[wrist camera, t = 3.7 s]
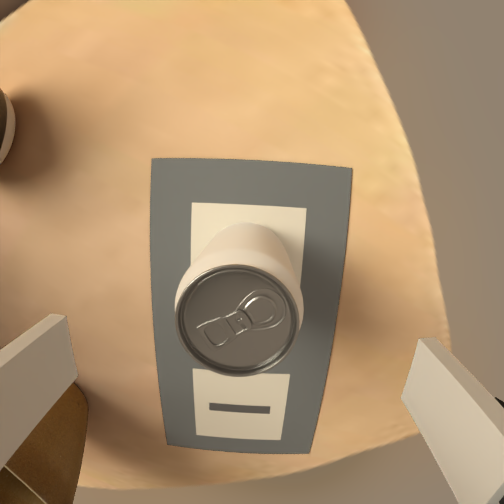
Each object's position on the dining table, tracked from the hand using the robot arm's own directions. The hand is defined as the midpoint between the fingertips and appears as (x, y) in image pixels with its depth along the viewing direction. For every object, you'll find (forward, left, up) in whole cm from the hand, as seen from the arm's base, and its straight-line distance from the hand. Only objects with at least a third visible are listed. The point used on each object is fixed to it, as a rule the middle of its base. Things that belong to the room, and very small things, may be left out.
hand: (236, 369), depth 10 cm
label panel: (0, -7, -16) cm, 17 cm away
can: (0, 0, -16) cm, 16 cm away
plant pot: (-21, -18, -16) cm, 32 cm away
